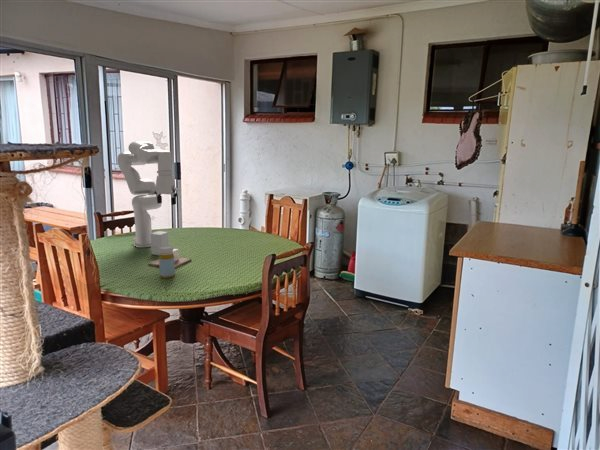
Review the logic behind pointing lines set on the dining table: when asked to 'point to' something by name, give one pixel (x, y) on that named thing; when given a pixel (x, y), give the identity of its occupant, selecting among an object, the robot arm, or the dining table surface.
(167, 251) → the bottle
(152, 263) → the brown rectangular plate
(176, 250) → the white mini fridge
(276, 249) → the dining table surface
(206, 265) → the dining table surface
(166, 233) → the supplement box
